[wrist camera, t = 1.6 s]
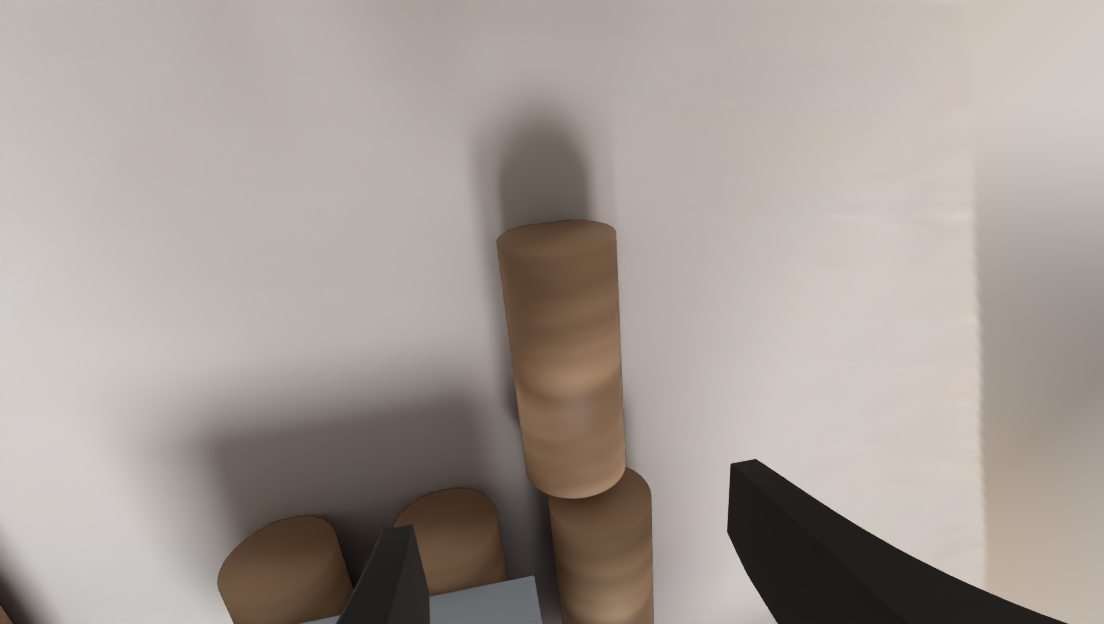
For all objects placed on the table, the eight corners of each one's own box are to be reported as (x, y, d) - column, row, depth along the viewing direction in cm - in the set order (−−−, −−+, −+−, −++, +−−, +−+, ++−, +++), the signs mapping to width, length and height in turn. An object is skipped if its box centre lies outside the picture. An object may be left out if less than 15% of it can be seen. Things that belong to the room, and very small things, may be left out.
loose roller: (569, 422, 24) (645, 455, 21) (505, 470, 21) (583, 514, 19) (550, 215, 20) (639, 227, 18) (471, 244, 18) (562, 262, 15)
